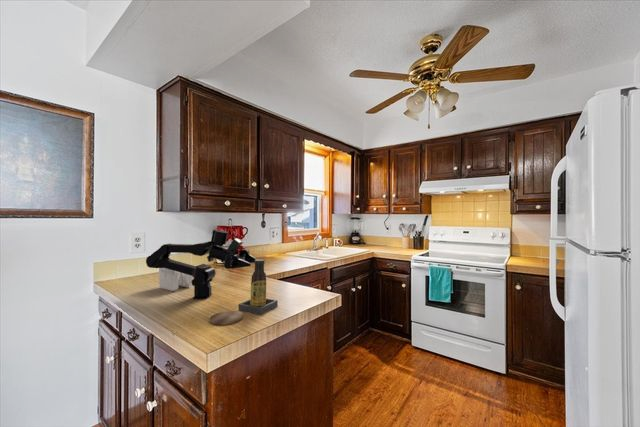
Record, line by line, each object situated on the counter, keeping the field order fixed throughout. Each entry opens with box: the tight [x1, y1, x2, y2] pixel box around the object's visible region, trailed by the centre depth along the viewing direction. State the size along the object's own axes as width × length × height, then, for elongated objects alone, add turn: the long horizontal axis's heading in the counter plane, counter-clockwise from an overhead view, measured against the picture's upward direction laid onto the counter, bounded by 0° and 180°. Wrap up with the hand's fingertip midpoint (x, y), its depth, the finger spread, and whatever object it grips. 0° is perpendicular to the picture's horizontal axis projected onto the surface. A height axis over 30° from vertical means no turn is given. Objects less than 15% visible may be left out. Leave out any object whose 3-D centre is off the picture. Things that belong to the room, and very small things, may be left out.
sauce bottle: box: [249, 258, 267, 308], centre depth 113 cm, size 6×6×20 cm
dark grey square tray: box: [238, 297, 279, 316], centre depth 113 cm, size 11×11×2 cm
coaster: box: [209, 310, 245, 326], centre depth 102 cm, size 12×12×1 cm
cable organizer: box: [158, 268, 193, 292], centre depth 143 cm, size 15×11×12 cm
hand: (254, 262), depth 125 cm, fingers open, 9 cm apart
